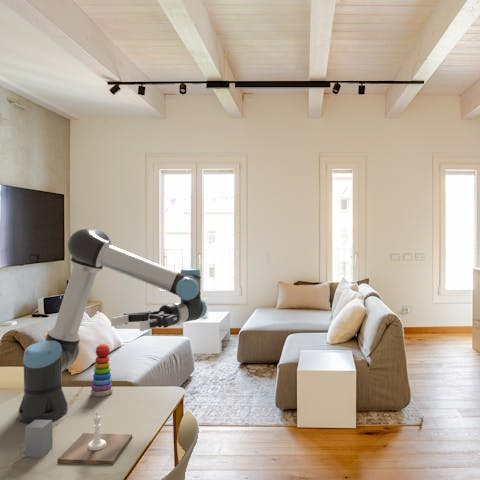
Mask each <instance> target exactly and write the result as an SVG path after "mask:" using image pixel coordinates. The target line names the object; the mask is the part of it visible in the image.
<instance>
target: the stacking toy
mask: <svg viewBox="0 0 480 480" xmlns="http://www.w3.org/2000/svg"><path fill="white" fill-rule="evenodd" d="M95 354H96V356H97V357H96V359H95V363H94V369H93V371H94V373H93V379H92V384H91V390H90V394H91V395H92V396H94V397H104V396H109V395H111V394H112V393H113V390H114V389H113V383H112V380H113V379H112V377H111V376H112V372H111V367H110V364H111V363H110V357H109V356H108V355H109V354H110V347H109V346H108V345H107V344H105V343H104V344H103V343H102V344H99V345H98V346H97V347H96V349H95Z"/></svg>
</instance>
